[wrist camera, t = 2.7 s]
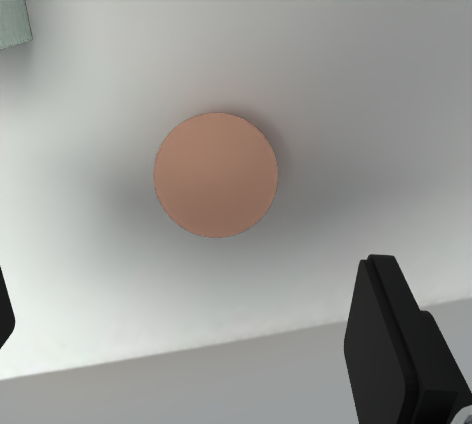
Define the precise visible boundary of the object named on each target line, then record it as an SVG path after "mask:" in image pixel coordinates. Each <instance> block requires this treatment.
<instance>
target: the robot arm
mask: <svg viewBox="0 0 472 424" xmlns="http://www.w3.org/2000/svg"><path fill="white" fill-rule="evenodd" d="M14 327H15V317H14V313H13V309H12V306H11V302H10V299H9V295H8V292H7V288H6V285H5V281H4V278H3V274H2V271H1V267H0V349H1V347H2V346H3V345H4V343H5V342H6V340H7V339H8V338H9V336H10V335H11V334H12V332H13V330H14ZM344 355H345V359H346V364H347V369H348V374H349V379H350V383H351V388H352V393H353V397H354V402H355V407H356V411H357V416H358V421H359V424H472V393H471V391H470V389H469V387H468V385H467V383H466V381H465V379H464V377H463V375H462V373H461V371H460V369H459V367H458V365H457V363H456V361H455V359H454V357H453V356H452V353H451V352H450V349H449V348H448V345H447V343H446V341H445V339H444V338H443V335H442V333H441V331H440V330H439V328H438V326H437V324H436V322H435V320H434V318H433V316H432V315H431V314H430V313H429V312H428V311H420V309H419V307H418V305H417V303H416V301H415V299H414V297H413V294H412V292H411V290H410V288H409V286H408V284H407V282H406V280H405V278H404V275H403V273H402V271H401V269H400V267H399V265H398V263H397V261H396V259H395V257H394V256H391V255H374V254H370V255H369V256H368V258H367V260H360V263H359V267H358V272H357V277H356V282H355V287H354V293H353V298H352V303H351V308H350V313H349V318H348V323H347V328H346V334H345V339H344Z"/></svg>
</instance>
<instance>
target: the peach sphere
mask: <svg viewBox="0 0 472 424" xmlns="http://www.w3.org/2000/svg"><path fill="white" fill-rule="evenodd" d="M277 184H278V167H277V161H276V157H275V154H274V152H273V149H272V147H271V145H270V144H269V142H268V141H267V139H266V138H265V136H264V135H263V134H262V133H261V132H260V131H259V130H258V129H257V128H256V127H255V126H253V125H252V124H251V123H249V122H248V121H246V120H244V119H242V118H239V117H237V116H234V115H230V114H226V113H206V114H201V115H197V116H194V117H192V118H190V119H188V120H186V121H184V122H182V123H181V124H179V125H178V126H177V127H176V128H174V129H173V130H172V131H171V132H170V134H169V135H168V136H167V137H166V138H165V140H164V141H163V143H162V144H161V147H160V149H159V151H158V153H157V156H156V160H155V165H154V185H155V190H156V194H157V197H158V199H159V201H160V204H161V205H162V207H163V208H164V210H165V212H166V213H167V214H168V216H169V217H170V218H171V219H172V220H173V221H174V222H175V223H177V224H178V225H179V226H181V227H182V228H184V229H185V230H187V231H189V232H192V233H194V234H197V235H200V236H205V237H212V238H220V237H228V236H233V235H236V234H239V233H241V232H243V231H245V230H247V229H249V228H250V227H252V226H253V225H254V224H256V223H257V222H258V221H259V220H260V219H261V218H262V217H263V216H264V214H265V213H266V212H267V210H268V209H269V207H270V205H271V203H272V201H273V199H274V197H275V194H276V190H277Z"/></svg>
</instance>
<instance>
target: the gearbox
mask: <svg viewBox="0 0 472 424" xmlns="http://www.w3.org/2000/svg"><path fill="white" fill-rule="evenodd" d="M31 40H32V35H31V30H30V25H29V20H28V15H27V10H26V5H25V0H0V49H3V48H7V47H10V46H14V45H17V44H20V43H24V42H27V41H31Z"/></svg>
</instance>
